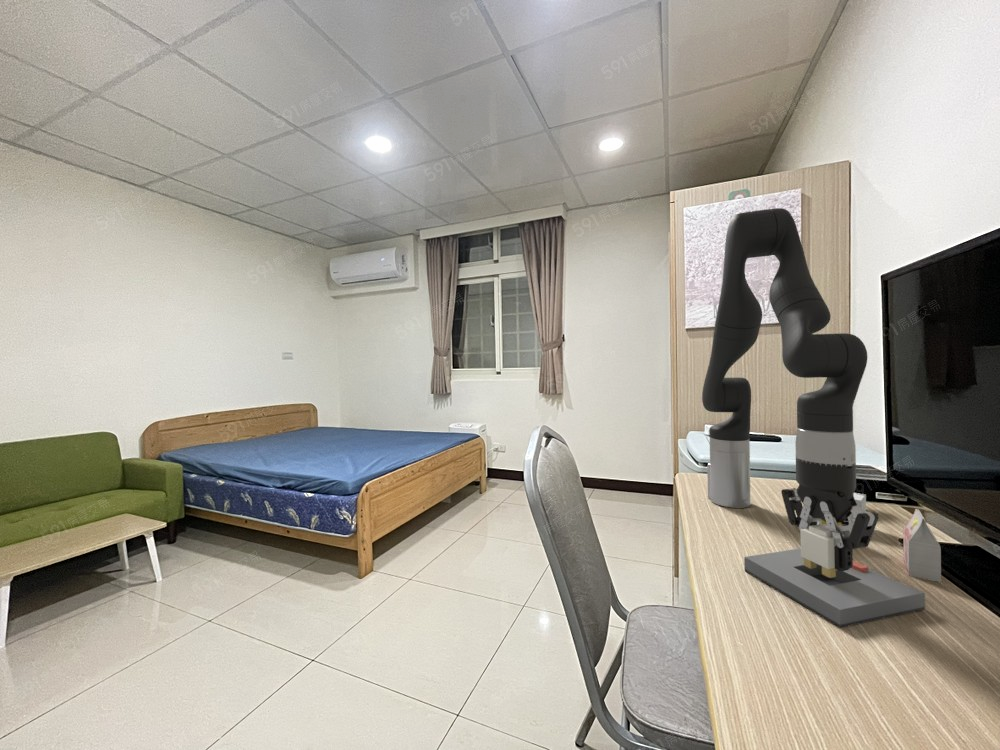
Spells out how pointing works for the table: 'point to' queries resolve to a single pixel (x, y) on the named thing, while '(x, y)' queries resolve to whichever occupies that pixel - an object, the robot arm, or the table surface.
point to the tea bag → (921, 549)
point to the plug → (818, 549)
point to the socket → (835, 589)
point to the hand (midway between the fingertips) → (826, 561)
